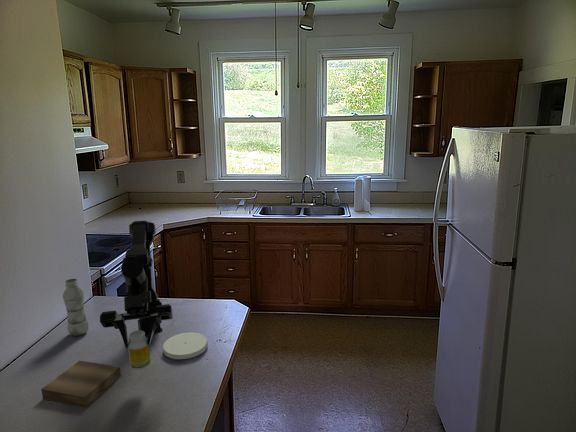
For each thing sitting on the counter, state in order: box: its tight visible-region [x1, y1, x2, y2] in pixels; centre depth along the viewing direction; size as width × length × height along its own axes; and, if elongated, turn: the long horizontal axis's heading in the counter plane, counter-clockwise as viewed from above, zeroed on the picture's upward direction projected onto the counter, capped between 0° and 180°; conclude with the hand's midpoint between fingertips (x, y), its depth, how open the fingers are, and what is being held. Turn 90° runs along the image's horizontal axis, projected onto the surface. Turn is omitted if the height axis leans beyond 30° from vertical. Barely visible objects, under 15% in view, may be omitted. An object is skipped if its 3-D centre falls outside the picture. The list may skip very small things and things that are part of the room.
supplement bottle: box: [127, 329, 151, 371], centre depth 113 cm, size 5×5×10 cm
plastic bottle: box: [62, 278, 89, 337], centre depth 144 cm, size 6×7×20 cm
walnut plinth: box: [41, 360, 121, 408], centre depth 116 cm, size 14×14×3 cm
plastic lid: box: [162, 331, 209, 360], centre depth 134 cm, size 14×14×2 cm
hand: (137, 346), depth 112 cm, fingers closed on supplement bottle, 5 cm apart
